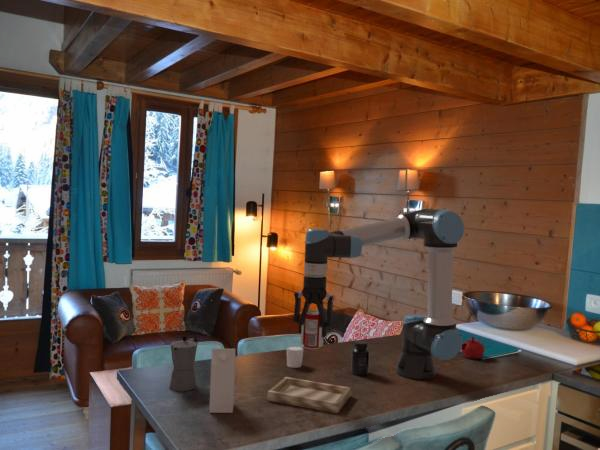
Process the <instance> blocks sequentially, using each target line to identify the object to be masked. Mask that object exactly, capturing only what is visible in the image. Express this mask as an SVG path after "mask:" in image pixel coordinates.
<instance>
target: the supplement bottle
mask: <svg viewBox="0 0 600 450" xmlns="http://www.w3.org/2000/svg"><path fill="white" fill-rule="evenodd" d="M353 347H354V348H353V349H351V366H350V372H351V374H353V375H355V376H367V375H368V374H369V373H370V372H369V371H370V350H369V349H368V342H366V341H362V340H358V341H357V340H356V341H355V342H354V346H353Z"/></svg>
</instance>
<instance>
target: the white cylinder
mask: <svg viewBox="0 0 600 450" xmlns="http://www.w3.org/2000/svg"><path fill="white" fill-rule="evenodd" d="M285 348H286V366H287V367H289V368H293V369H295V368H296V369H297V368H301V367H302V364H303V355H304V347H302V346H298V345H290V346H287V347H285Z"/></svg>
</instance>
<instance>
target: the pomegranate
mask: <svg viewBox="0 0 600 450" xmlns="http://www.w3.org/2000/svg"><path fill="white" fill-rule="evenodd" d="M460 351H461V353H462V355H463V357H464V358H467V359H470V360H479V359H480V358H482V357H483V356H484V354H485V346H484V344H483V343H482V342H481V339H475V336H471V338H470V337H469V338H467V339H465V340H464V342H462V347H461V349H460Z"/></svg>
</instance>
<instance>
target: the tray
mask: <svg viewBox="0 0 600 450" xmlns="http://www.w3.org/2000/svg"><path fill="white" fill-rule="evenodd" d="M266 394H267V396H266V397H267V399H266V400H267V401H269V402H273V403H274V402H275V403H278V404H279V403H280V404H284V405H290V406H296V407H300V408H306V409H312V410H316V411H317V410H318V411H323V412H328V413H332V414H338V413H340V411H341V410H342V408H344V406H345V404H347V402H348V400H349V399H350V398H351V395H352V387H350V386H349V387H348V386H344V385H343V386H342V385H336V384H331V383H326V382H325V383H324V382H319V381H313V380H306V379H302V378H301V379H300V378H295V377H289V376H284V377H283V378H282V379H281V380H279V382H277V383H276V384H275V385H273V386H272V387H271V388H270V389H269V390H268V391H267V393H266Z"/></svg>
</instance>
